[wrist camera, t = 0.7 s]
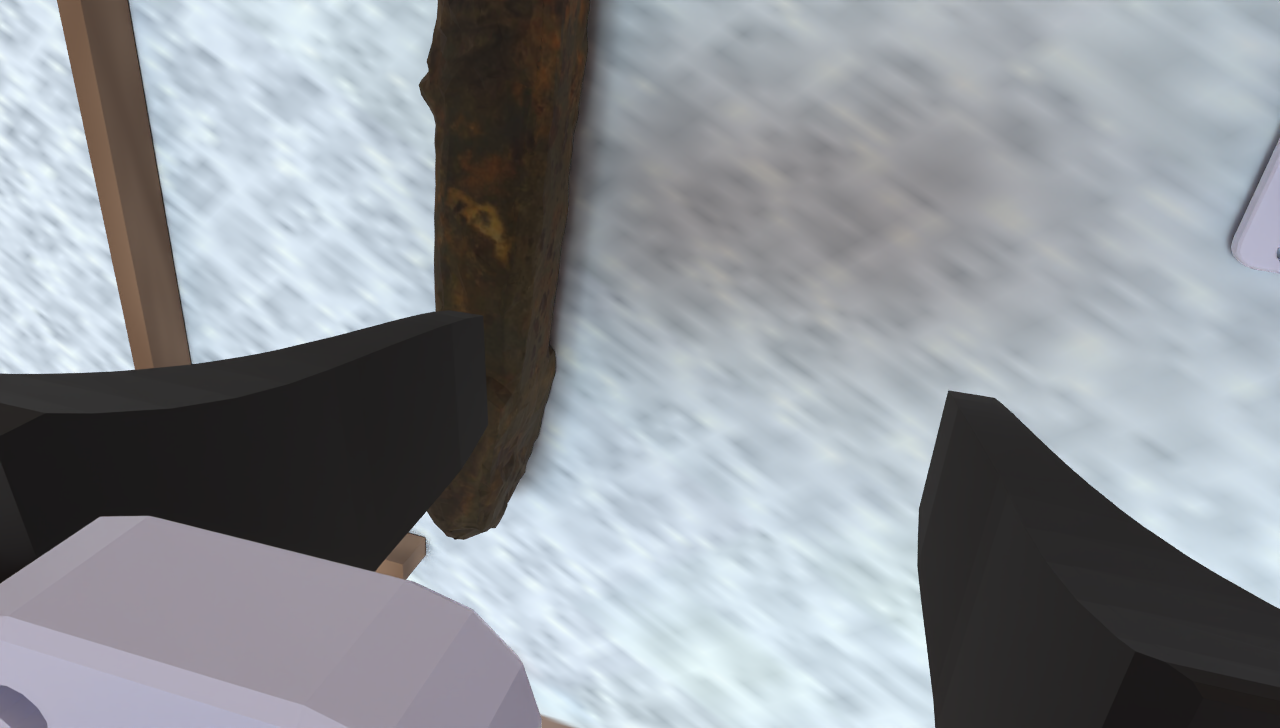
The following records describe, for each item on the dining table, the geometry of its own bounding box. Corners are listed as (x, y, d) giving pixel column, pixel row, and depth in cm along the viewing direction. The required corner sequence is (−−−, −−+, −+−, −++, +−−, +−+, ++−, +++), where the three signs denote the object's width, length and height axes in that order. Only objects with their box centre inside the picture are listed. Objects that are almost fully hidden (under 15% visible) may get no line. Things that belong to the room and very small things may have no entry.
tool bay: (400, -433, 16) (358, -469, 15) (425, 555, 28) (403, 582, 27) (23, -439, 18) (-43, -471, 17) (195, 489, 30) (165, 511, 29)
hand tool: (482, -210, 18) (364, -267, 14) (649, -181, 17) (574, -232, 13) (438, 460, 27) (358, 543, 23) (547, 497, 26) (483, 589, 22)
